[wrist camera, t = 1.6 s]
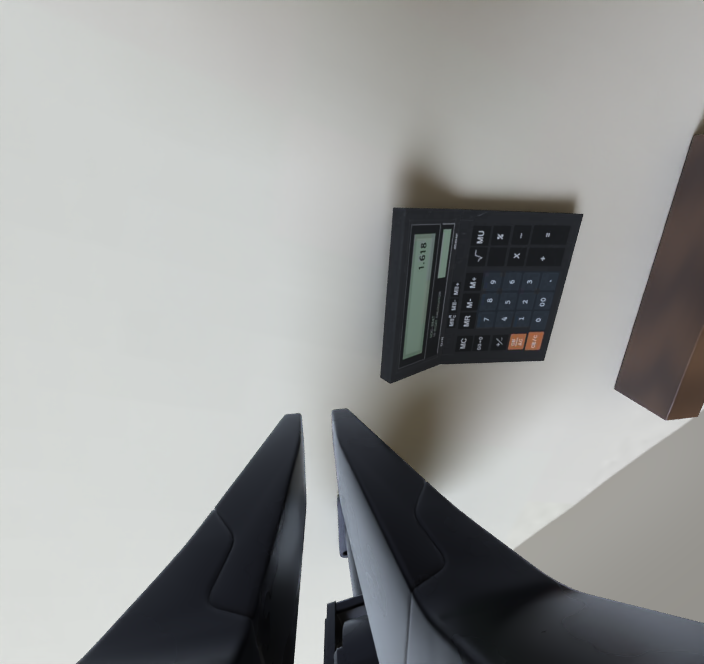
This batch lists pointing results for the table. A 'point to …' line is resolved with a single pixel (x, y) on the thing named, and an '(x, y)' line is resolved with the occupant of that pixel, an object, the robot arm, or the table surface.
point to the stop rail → (673, 309)
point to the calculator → (473, 286)
